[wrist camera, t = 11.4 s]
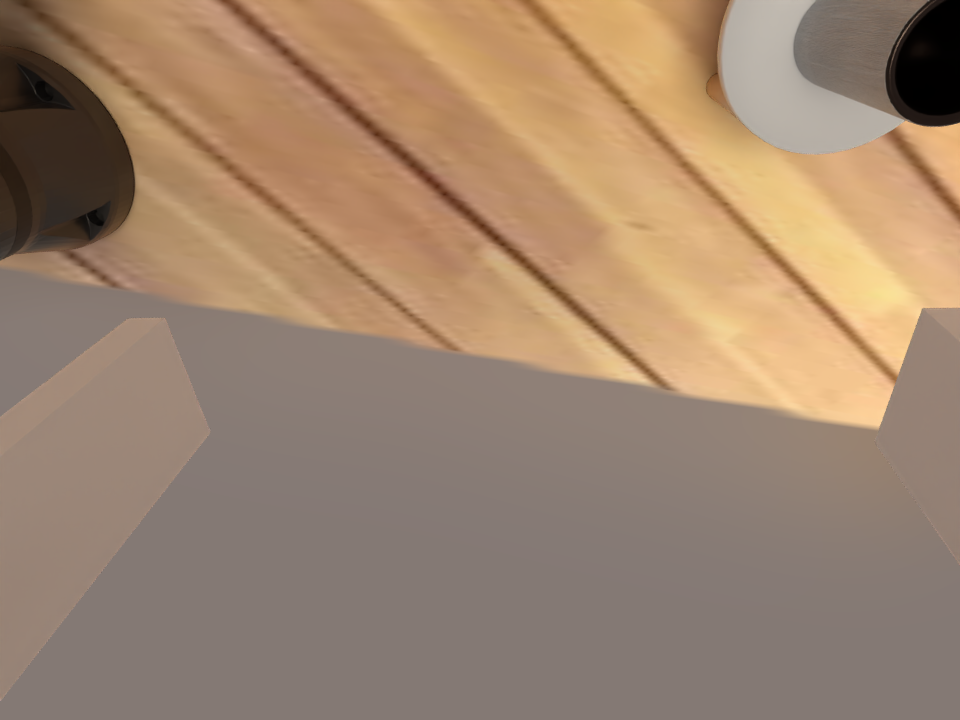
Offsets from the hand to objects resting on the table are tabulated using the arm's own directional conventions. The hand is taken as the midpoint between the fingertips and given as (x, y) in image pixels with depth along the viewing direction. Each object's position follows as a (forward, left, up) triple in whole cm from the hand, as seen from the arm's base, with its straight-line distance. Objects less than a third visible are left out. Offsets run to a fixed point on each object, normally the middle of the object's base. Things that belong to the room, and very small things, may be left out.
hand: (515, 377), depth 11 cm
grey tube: (+14, +3, -26) cm, 29 cm away
